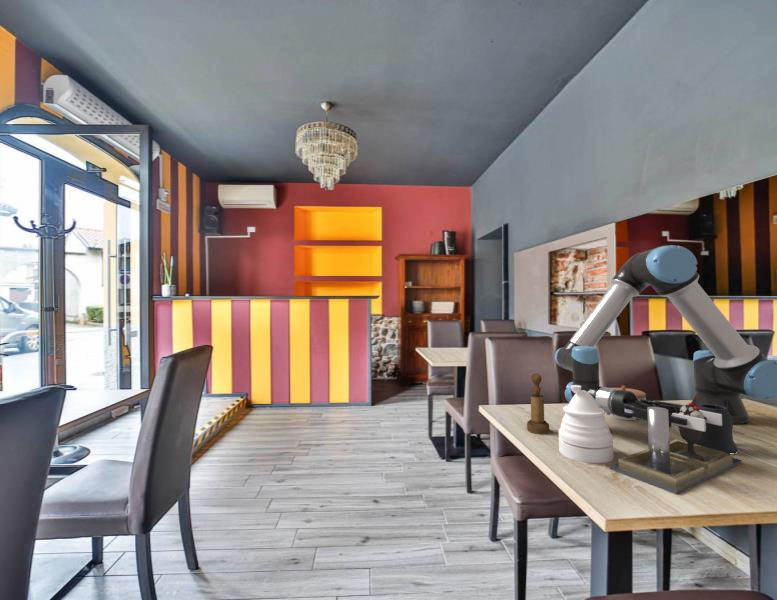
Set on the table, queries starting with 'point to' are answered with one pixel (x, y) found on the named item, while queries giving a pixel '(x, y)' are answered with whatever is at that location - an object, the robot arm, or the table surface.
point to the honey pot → (585, 430)
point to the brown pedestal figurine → (537, 409)
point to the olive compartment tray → (672, 459)
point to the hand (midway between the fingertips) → (713, 422)
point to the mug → (718, 431)
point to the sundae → (688, 433)
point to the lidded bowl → (638, 395)
